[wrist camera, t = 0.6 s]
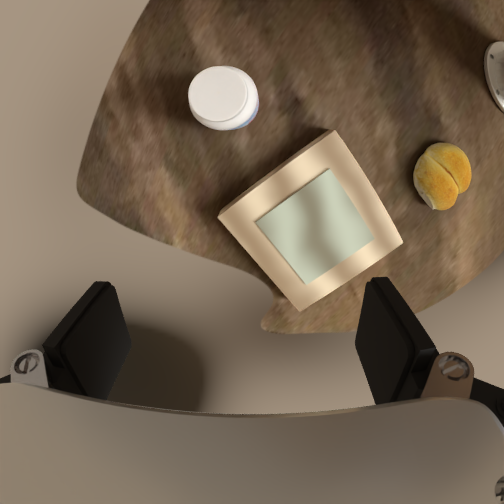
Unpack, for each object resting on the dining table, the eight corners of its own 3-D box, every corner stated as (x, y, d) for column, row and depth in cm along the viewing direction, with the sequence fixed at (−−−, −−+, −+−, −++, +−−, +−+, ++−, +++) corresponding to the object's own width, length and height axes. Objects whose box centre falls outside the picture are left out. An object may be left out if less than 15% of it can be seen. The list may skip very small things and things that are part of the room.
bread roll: (470, 174, 32) (487, 180, 28) (432, 215, 35) (447, 225, 31) (442, 127, 30) (459, 130, 26) (400, 170, 33) (415, 176, 29)
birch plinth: (329, 129, 31) (335, 130, 28) (394, 233, 36) (404, 243, 33) (221, 209, 36) (217, 217, 32) (297, 299, 40) (299, 313, 37)
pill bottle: (263, 124, 31) (263, 123, 21) (210, 134, 32) (186, 138, 22) (254, 74, 29) (250, 51, 19) (201, 85, 29) (172, 68, 19)
